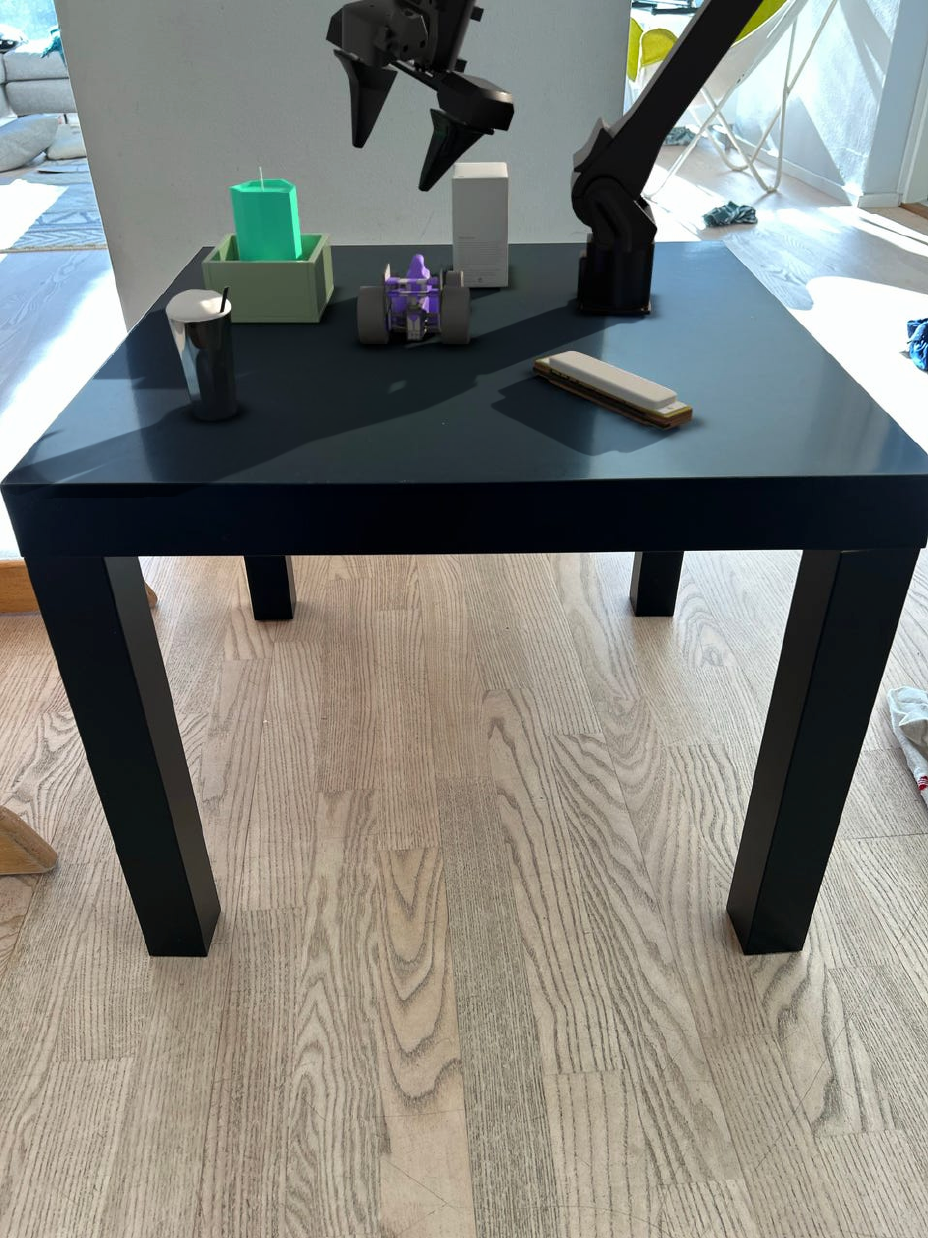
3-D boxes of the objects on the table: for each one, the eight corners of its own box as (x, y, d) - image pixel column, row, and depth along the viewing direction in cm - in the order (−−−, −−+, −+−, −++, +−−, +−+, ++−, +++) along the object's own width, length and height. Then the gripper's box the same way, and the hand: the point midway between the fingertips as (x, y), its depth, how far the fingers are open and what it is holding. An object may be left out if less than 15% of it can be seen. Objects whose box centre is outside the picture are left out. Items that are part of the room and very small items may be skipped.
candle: (258, 313, 94) (240, 176, 87) (235, 296, 98) (217, 165, 91) (316, 302, 96) (304, 168, 89) (292, 286, 100) (278, 157, 94)
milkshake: (225, 432, 73) (203, 295, 67) (172, 417, 76) (147, 283, 70) (266, 410, 76) (248, 278, 71) (214, 396, 79) (193, 267, 73)
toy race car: (474, 298, 99) (473, 229, 95) (468, 352, 86) (468, 275, 83) (377, 297, 99) (373, 229, 95) (358, 351, 87) (353, 275, 83)
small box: (507, 288, 101) (509, 177, 95) (452, 288, 101) (450, 177, 95) (506, 266, 108) (507, 160, 102) (454, 266, 108) (452, 161, 102)
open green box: (333, 289, 101) (329, 233, 98) (319, 322, 93) (313, 262, 90) (234, 289, 102) (226, 233, 99) (210, 322, 93) (201, 262, 90)
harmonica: (532, 375, 82) (532, 351, 81) (559, 366, 83) (561, 343, 82) (662, 434, 72) (665, 408, 71) (691, 423, 74) (695, 397, 73)
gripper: (302, -86, 80) (257, 115, 89) (460, -2, 73) (394, 209, 81) (398, -52, 88) (348, 129, 97) (549, 27, 81) (481, 216, 89)
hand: (389, 168), depth 91 cm, fingers open, 9 cm apart
